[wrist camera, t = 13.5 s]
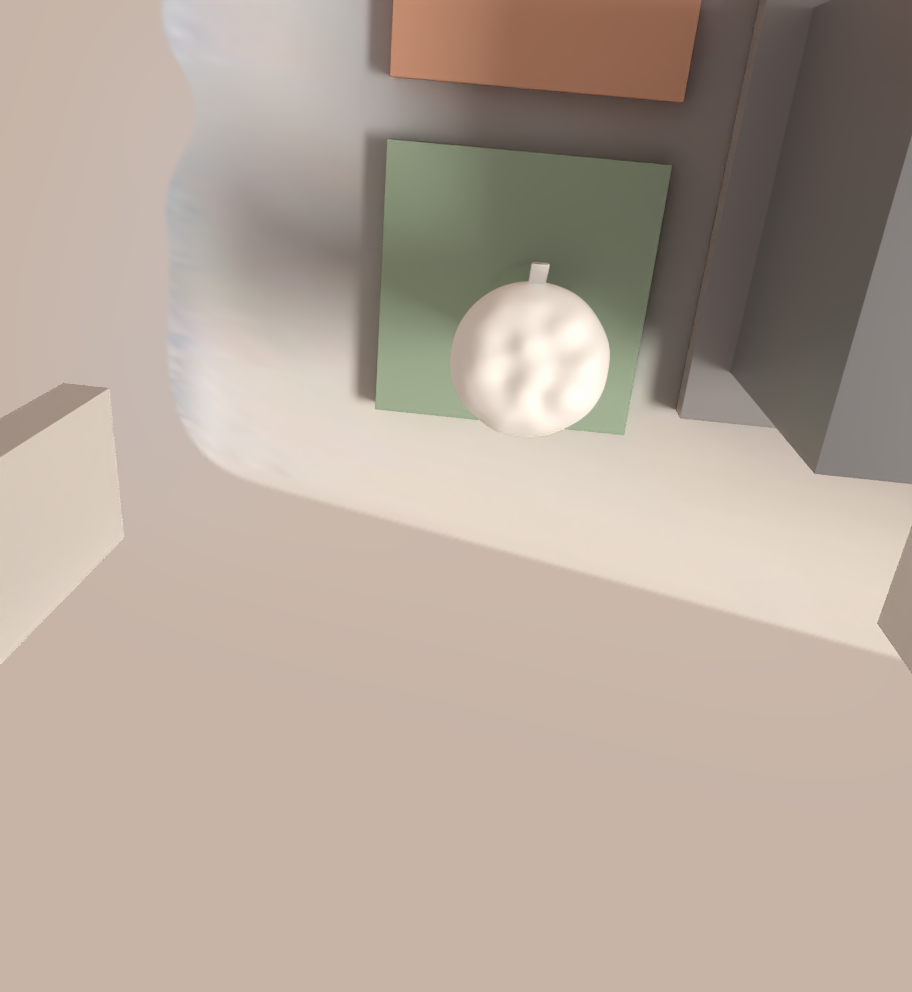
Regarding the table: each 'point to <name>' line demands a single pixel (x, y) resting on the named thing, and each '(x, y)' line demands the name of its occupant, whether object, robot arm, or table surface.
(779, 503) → the table surface
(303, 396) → the table surface
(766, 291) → the block
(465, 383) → the milkshake
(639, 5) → the pad terracotta
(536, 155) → the pad sage
